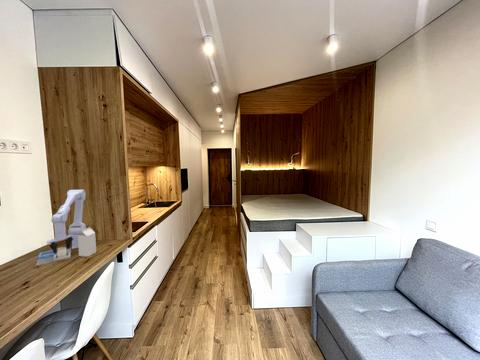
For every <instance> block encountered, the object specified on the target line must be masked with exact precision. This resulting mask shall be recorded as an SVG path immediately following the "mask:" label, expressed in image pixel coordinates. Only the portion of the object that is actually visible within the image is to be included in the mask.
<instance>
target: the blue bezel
mask: <svg viewBox="0 0 480 360" xmlns="http://www.w3.org/2000/svg"><path fill="white" fill-rule="evenodd" d="M52 252H53V250H52V249H51V250H49V251H43V252H39V254H38V258H39V259H41V258H48V257H51V256H54V255H55V253H54V254H50V255H45V256H42V254H47V253H52Z"/></svg>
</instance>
